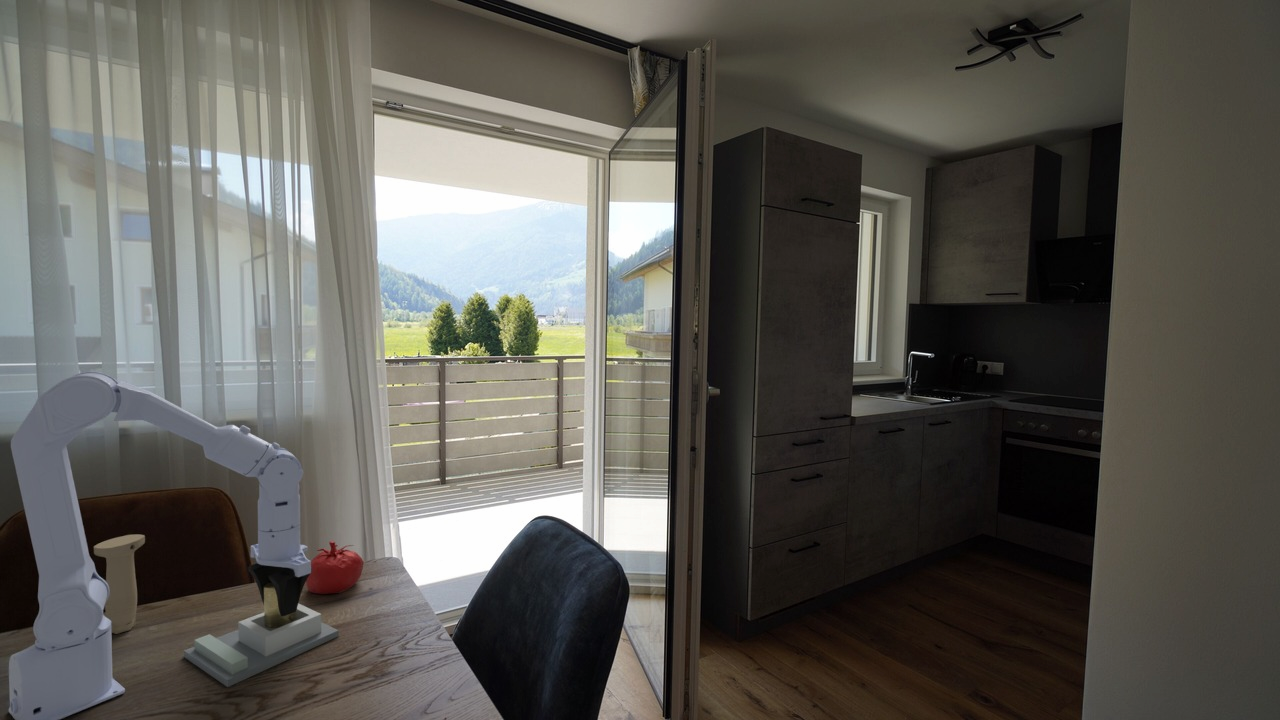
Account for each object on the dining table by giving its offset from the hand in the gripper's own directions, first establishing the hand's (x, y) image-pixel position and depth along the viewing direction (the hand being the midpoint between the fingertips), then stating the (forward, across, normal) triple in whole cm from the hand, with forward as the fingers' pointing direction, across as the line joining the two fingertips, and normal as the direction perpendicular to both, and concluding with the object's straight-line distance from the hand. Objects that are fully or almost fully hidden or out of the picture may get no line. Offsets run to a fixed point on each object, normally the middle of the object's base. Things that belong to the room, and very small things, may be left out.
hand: (280, 609), depth 90 cm
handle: (+6, +26, +12) cm, 29 cm away
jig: (+5, +1, +2) cm, 6 cm away
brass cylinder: (+2, 0, 0) cm, 2 cm away
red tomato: (+6, +12, -16) cm, 21 cm away
